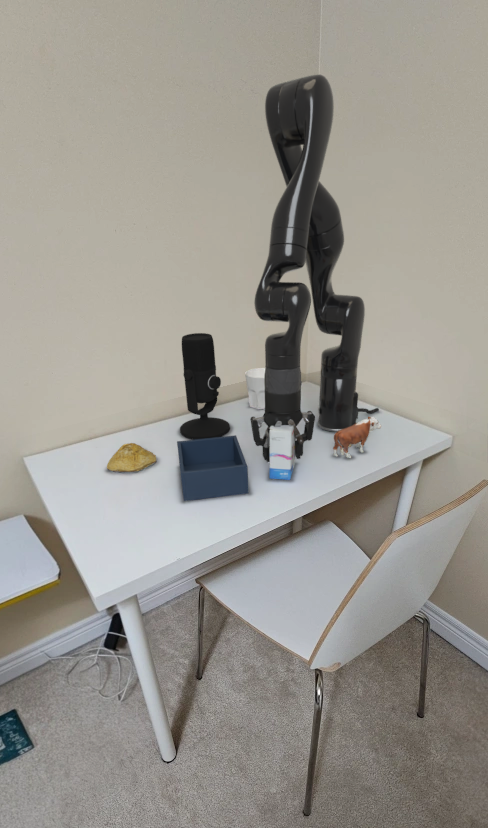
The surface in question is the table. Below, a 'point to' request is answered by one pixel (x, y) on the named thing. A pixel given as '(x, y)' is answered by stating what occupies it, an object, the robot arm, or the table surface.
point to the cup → (256, 387)
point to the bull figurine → (354, 435)
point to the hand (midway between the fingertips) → (282, 458)
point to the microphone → (201, 387)
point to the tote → (212, 468)
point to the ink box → (281, 452)
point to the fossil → (131, 459)
